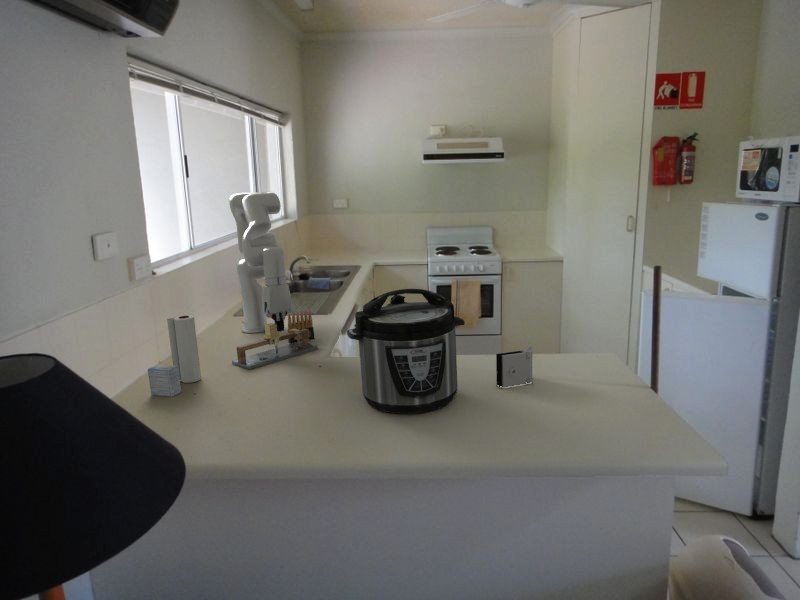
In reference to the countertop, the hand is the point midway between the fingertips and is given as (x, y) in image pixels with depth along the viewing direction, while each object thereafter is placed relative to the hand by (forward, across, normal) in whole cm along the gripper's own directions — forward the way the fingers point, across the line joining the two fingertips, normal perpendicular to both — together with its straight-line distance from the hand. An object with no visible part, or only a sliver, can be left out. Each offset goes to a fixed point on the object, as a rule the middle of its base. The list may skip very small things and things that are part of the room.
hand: (280, 330), depth 210 cm
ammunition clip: (+9, -16, -9) cm, 21 cm away
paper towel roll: (+9, +36, -2) cm, 37 cm away
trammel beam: (+8, +3, +1) cm, 8 cm away
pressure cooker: (+9, +6, +68) cm, 69 cm away
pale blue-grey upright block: (+9, +47, +4) cm, 48 cm away
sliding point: (+8, +4, 0) cm, 8 cm away
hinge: (+9, -23, +86) cm, 89 cm away
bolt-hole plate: (+9, +2, 0) cm, 10 cm away
